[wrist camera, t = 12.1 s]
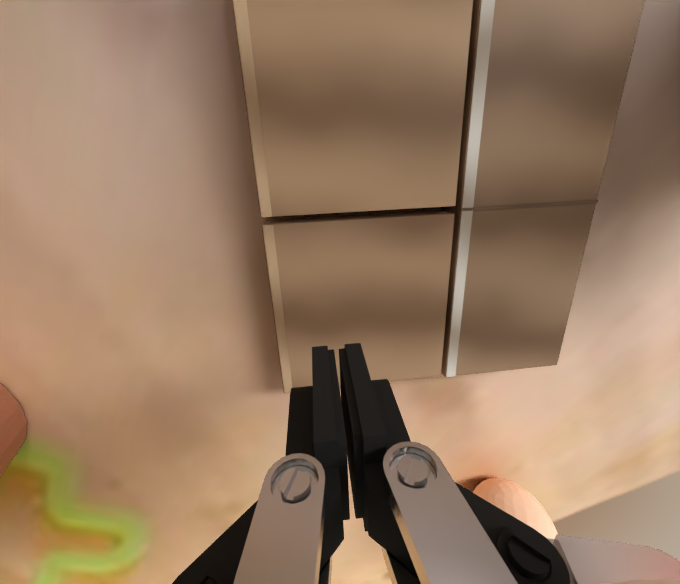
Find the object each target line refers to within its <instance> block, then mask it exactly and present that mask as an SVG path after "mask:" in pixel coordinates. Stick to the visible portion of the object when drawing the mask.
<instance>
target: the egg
mask: <svg viewBox="0 0 680 584" xmlns="http://www.w3.org/2000/svg"><path fill="white" fill-rule="evenodd" d="M473 493H474V494H476V495H478V496H479V497H481V498H483V499H484V500H486V501H488V502H489V503H491V504H493V505H495V506H496V507H498V508H500V509H501V510H503V511H505V512H506V513H508V514H510V515H511V516H513V517H515V518H517V519H518V520H520V521H522V522H523V523H525V524H527V525H528V526H530V527H532V528H534V529H535V530H536V531H538V532H539V533H541V534H542V535H543V536H545V537H546V538H549V539H555V537H556V535H558V534H557V531H556V529H555V527H554V525H553V522H552V520H551V519H550V517H549V516H548V514H547V513H546V511H545V510H544V508H543V507H542V505H541V504H540V502H539V501H538V500H537V499H536V498H535V497H534V496H533V495H531V494H530V493H529V492H528V491H527V490H526V489H524V488H523V487H521V486H520V485H518V484H516V483H514V482H512V481H509V480H505V479H499V478H490V479H487V480H484V481H482V482H481V483H480V484H479V485H477V486H476V488H475V490H474V491H473Z"/></svg>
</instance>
